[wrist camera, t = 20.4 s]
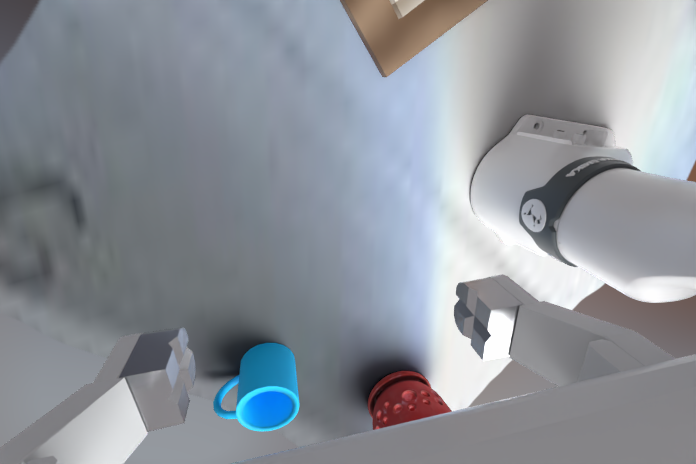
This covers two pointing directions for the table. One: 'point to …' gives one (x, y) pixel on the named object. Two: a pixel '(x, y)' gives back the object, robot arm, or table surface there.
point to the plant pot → (403, 400)
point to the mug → (263, 389)
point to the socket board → (403, 26)
